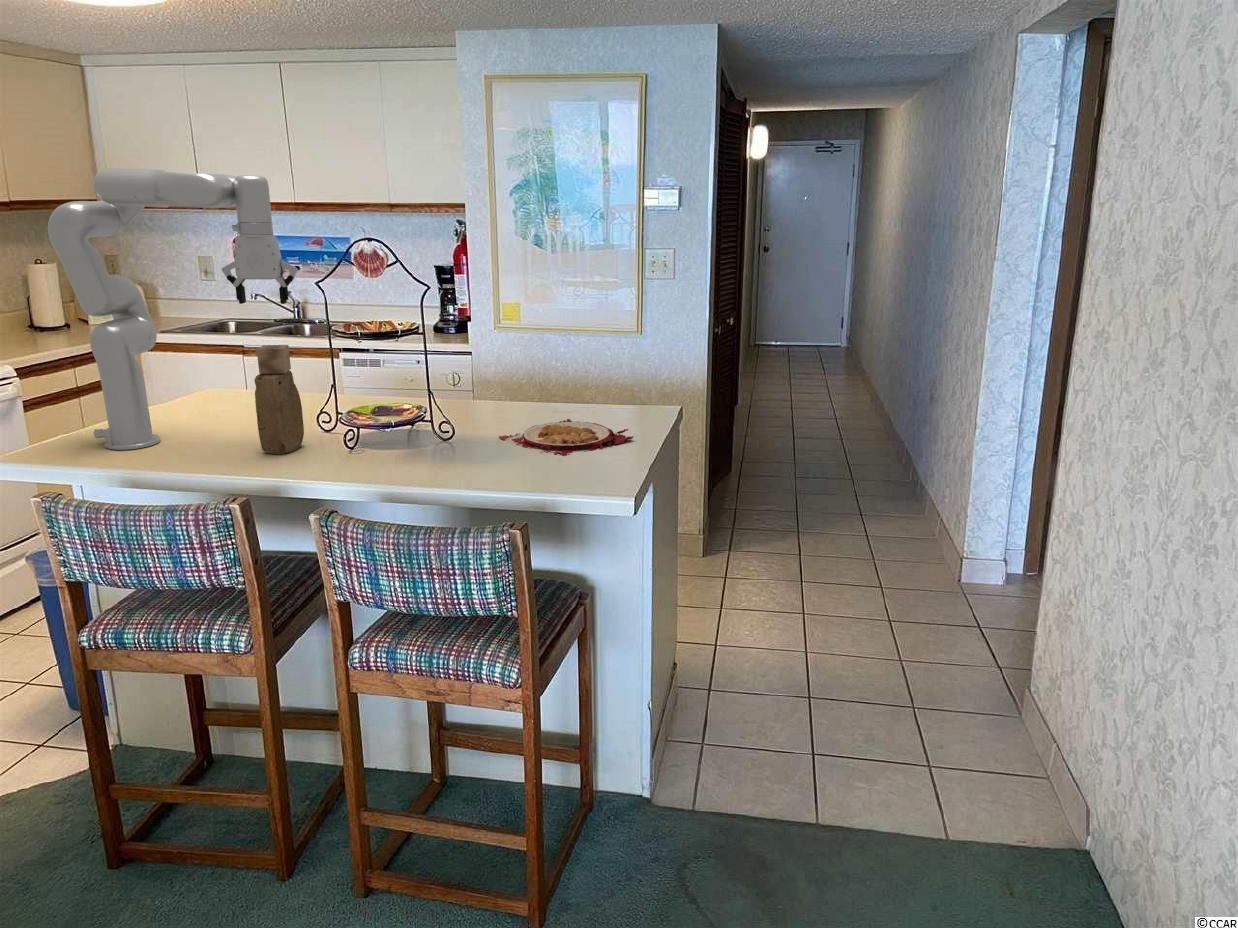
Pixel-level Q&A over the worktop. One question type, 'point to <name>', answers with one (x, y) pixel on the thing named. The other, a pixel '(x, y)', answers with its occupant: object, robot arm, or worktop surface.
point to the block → (278, 413)
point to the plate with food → (568, 437)
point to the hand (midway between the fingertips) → (263, 303)
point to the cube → (273, 359)
